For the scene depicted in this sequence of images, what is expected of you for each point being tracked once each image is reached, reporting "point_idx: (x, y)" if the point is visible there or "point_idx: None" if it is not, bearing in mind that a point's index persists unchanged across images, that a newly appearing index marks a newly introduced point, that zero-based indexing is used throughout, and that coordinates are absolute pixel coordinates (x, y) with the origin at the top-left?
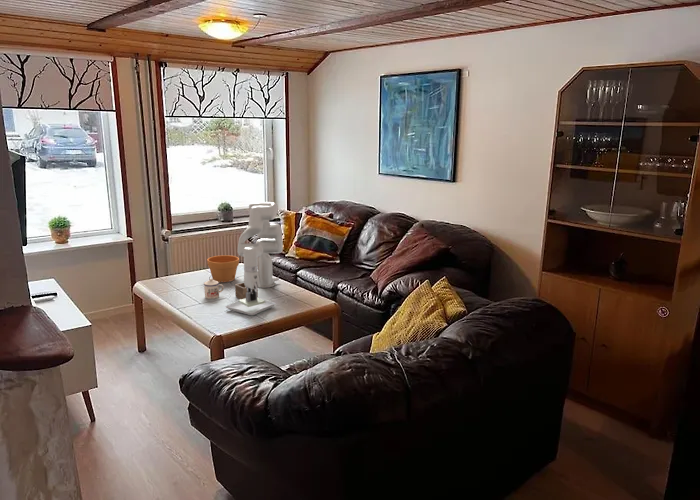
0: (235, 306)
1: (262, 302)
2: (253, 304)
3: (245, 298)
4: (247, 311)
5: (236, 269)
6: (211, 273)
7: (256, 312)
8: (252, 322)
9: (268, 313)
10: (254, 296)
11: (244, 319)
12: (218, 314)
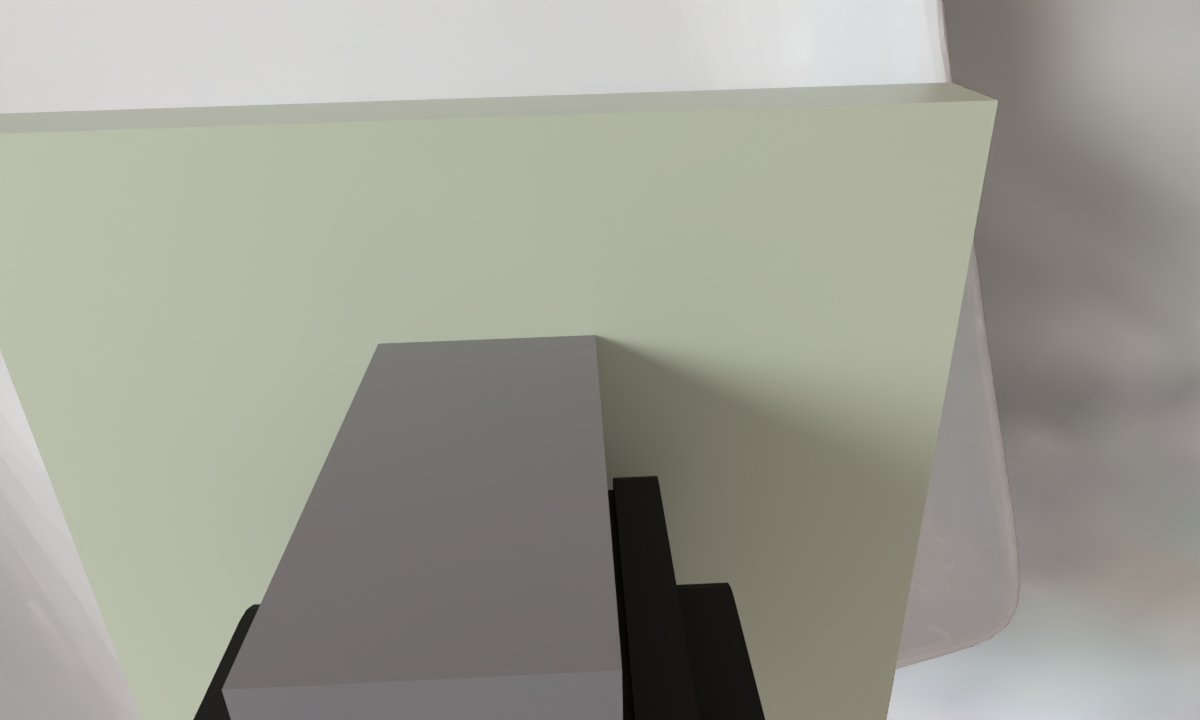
0: (65, 599)
1: (951, 245)
2: (891, 626)
3: (112, 621)
4: None
5: None
6: None
7: (977, 468)
8: (1181, 641)
9: (1053, 52)
10: (746, 703)
11: (912, 686)
12: None
